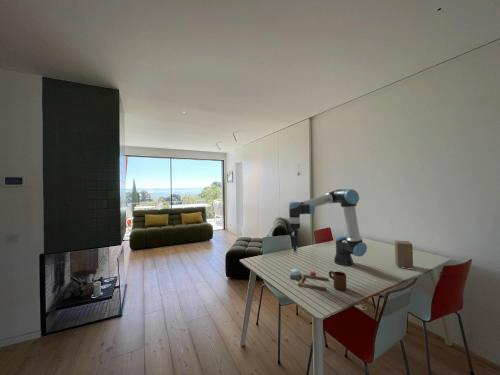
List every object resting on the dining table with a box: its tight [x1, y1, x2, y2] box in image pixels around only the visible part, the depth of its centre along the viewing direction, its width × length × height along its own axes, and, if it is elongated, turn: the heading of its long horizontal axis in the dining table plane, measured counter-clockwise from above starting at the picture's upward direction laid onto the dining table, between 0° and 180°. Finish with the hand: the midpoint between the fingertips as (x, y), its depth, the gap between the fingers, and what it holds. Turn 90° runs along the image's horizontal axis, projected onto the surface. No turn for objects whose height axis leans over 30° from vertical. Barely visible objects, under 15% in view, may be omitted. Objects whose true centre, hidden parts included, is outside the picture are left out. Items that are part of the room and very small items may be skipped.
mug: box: [328, 270, 347, 292], centre depth 132 cm, size 12×8×9 cm, turn 32°
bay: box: [297, 273, 329, 292], centre depth 139 cm, size 17×18×2 cm
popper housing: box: [289, 272, 303, 281], centre depth 148 cm, size 7×7×2 cm
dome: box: [291, 268, 301, 276], centre depth 148 cm, size 6×6×3 cm
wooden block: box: [394, 239, 414, 269], centre depth 166 cm, size 10×10×20 cm
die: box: [309, 270, 317, 276], centre depth 150 cm, size 4×4×4 cm
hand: (295, 254), depth 149 cm, fingers closed
